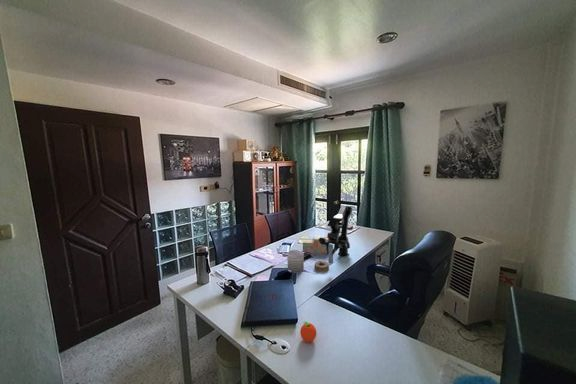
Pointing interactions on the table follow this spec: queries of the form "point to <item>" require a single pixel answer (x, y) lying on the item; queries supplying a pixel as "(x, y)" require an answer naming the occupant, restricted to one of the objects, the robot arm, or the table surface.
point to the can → (295, 261)
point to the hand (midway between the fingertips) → (330, 254)
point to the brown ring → (321, 266)
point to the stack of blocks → (314, 246)
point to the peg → (330, 253)
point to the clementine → (308, 332)
